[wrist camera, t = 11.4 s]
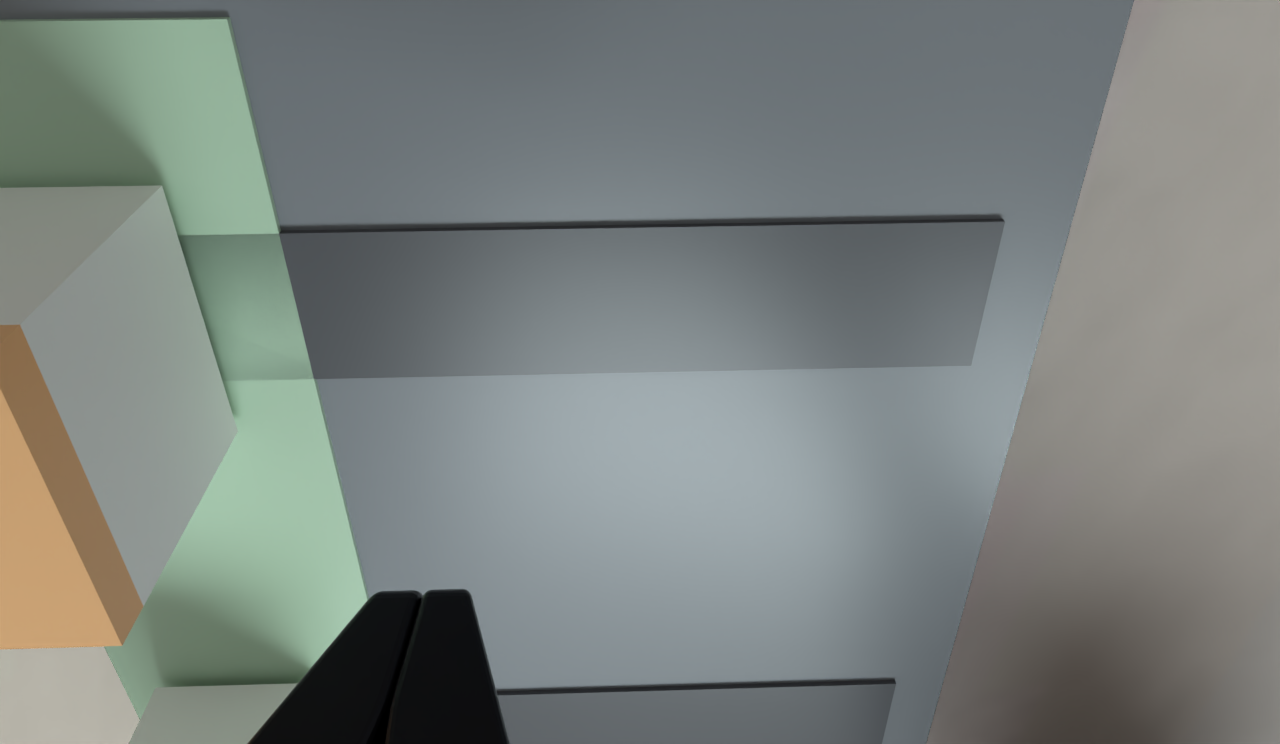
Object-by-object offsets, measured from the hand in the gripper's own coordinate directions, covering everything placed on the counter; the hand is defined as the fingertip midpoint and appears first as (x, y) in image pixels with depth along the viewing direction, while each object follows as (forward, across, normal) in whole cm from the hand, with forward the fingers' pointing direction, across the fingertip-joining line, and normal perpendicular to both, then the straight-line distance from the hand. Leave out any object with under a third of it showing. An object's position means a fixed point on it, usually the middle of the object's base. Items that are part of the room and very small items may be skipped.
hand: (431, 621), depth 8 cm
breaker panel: (+9, 0, +5) cm, 10 cm away
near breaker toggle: (+6, +6, 0) cm, 8 cm away
